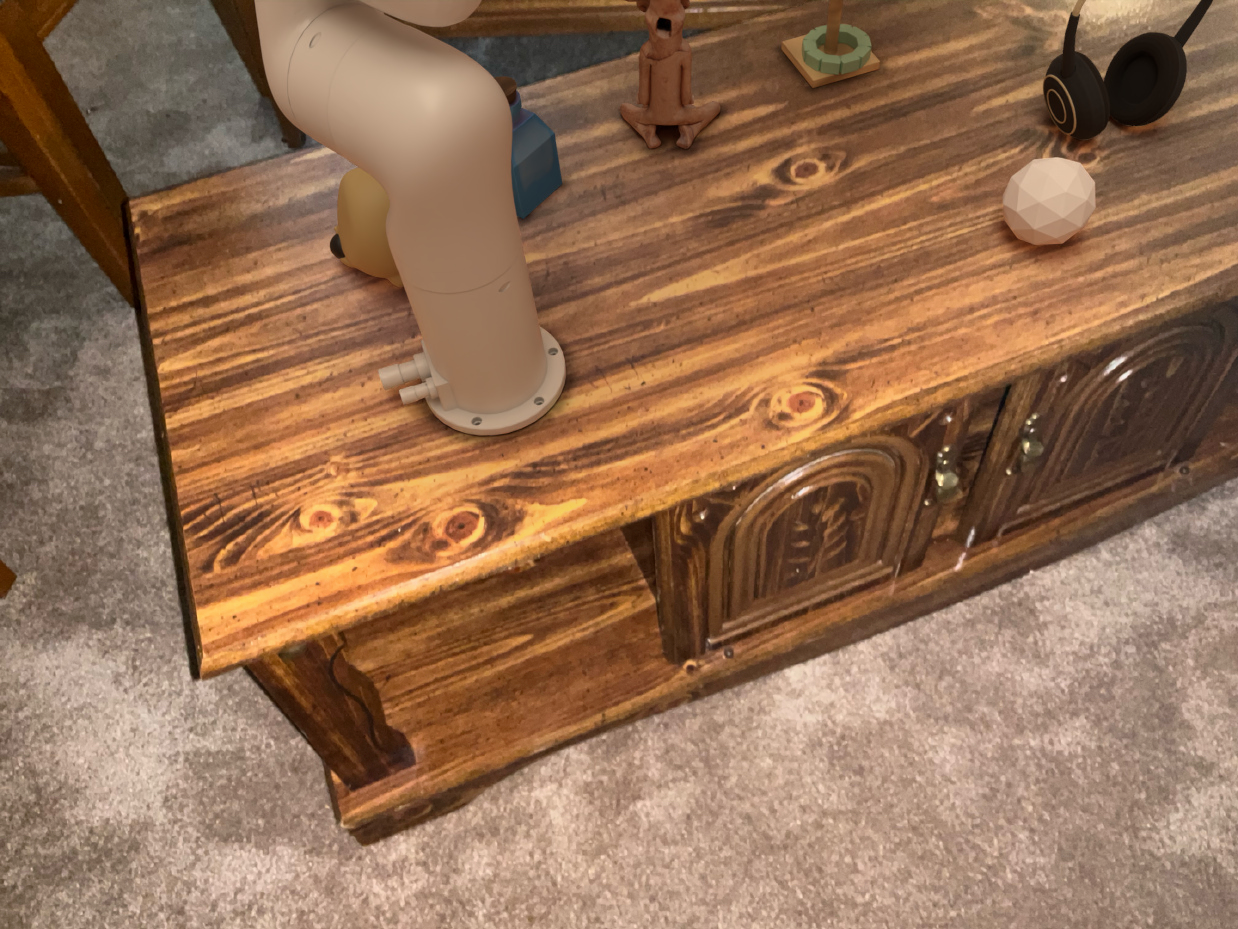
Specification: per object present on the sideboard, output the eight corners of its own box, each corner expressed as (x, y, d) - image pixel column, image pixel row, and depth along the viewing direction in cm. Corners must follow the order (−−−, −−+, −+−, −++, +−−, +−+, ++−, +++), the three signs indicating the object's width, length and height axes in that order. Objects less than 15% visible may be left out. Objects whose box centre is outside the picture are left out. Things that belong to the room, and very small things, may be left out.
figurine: (721, 109, 103) (725, -82, 86) (704, 159, 99) (705, -32, 82) (627, 99, 105) (613, -90, 89) (606, 147, 101) (587, -42, 84)
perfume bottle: (523, 218, 96) (502, 115, 86) (477, 196, 98) (452, 93, 88) (562, 183, 98) (546, 79, 88) (516, 162, 101) (496, 58, 91)
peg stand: (812, 88, 104) (823, -10, 95) (780, 49, 108) (788, -49, 99) (879, 69, 105) (896, -30, 96) (845, 30, 109) (858, -67, 100)
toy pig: (434, 257, 99) (359, 176, 96) (480, 215, 88) (397, 122, 86) (369, 317, 94) (288, 233, 91) (409, 280, 84) (320, 184, 81)
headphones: (1007, 115, 99) (1069, -84, 83) (1138, 84, 100) (1224, -119, 84) (1050, 167, 94) (1125, -33, 78) (1186, 133, 96) (1288, -71, 79)
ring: (881, 63, 104) (883, 52, 103) (818, 81, 103) (819, 69, 102) (851, 28, 108) (853, 17, 107) (790, 45, 107) (791, 33, 106)
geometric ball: (1004, 254, 92) (970, 187, 88) (1074, 201, 91) (1042, 131, 88) (1053, 273, 85) (1019, 201, 82) (1128, 216, 85) (1097, 140, 81)
